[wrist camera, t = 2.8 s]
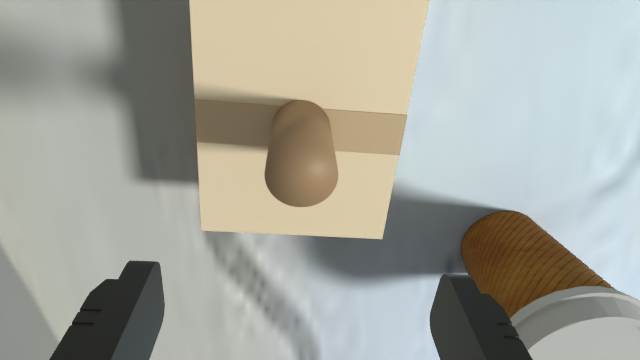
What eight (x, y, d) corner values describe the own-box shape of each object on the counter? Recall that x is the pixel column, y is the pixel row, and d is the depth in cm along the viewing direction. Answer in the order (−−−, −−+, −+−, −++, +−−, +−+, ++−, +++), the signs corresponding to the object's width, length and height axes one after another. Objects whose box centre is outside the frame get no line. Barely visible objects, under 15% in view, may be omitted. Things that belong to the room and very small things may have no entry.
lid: (424, -6, 21) (471, 10, 15) (379, 230, 28) (400, 303, 22) (192, -29, 20) (149, -20, 14) (204, 221, 27) (178, 295, 21)
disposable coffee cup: (445, 295, 37) (503, 432, 27) (435, 207, 33) (500, 329, 22) (555, 274, 37) (658, 406, 26) (560, 181, 32) (688, 294, 21)
